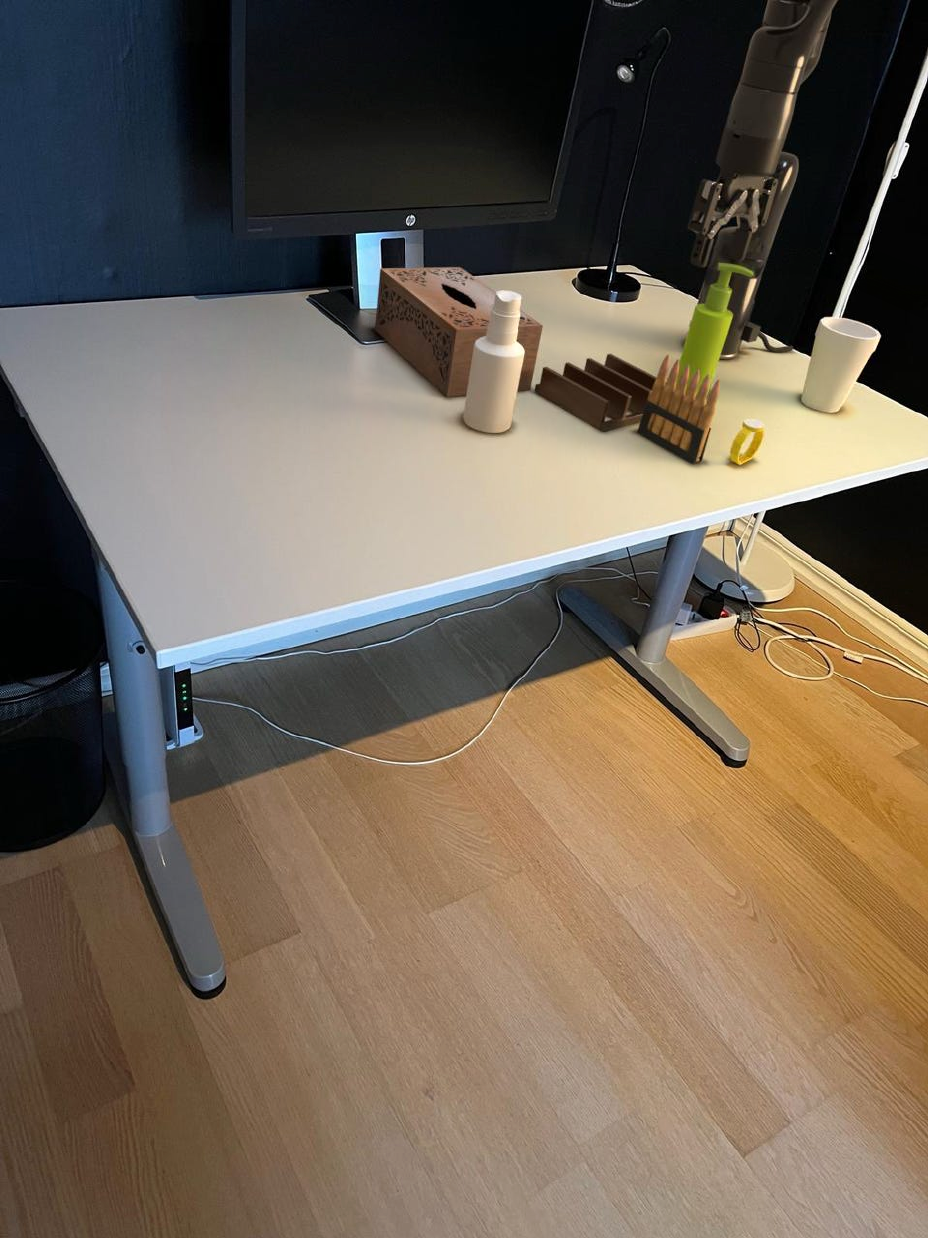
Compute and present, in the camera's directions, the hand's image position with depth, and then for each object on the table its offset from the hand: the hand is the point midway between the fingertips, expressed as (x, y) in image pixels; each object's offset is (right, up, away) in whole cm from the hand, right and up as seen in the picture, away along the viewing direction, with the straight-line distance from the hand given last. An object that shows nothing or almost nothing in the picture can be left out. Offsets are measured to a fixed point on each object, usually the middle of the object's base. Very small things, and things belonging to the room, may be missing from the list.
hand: (716, 261), depth 124 cm
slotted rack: (-13, -15, +18) cm, 26 cm away
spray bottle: (-31, -20, +6) cm, 37 cm away
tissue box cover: (-36, -7, +23) cm, 43 cm away
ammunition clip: (-5, -23, +8) cm, 25 cm away
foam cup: (+25, -12, +31) cm, 42 cm away
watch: (+6, -25, +8) cm, 27 cm away
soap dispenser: (+3, -11, +27) cm, 29 cm away
